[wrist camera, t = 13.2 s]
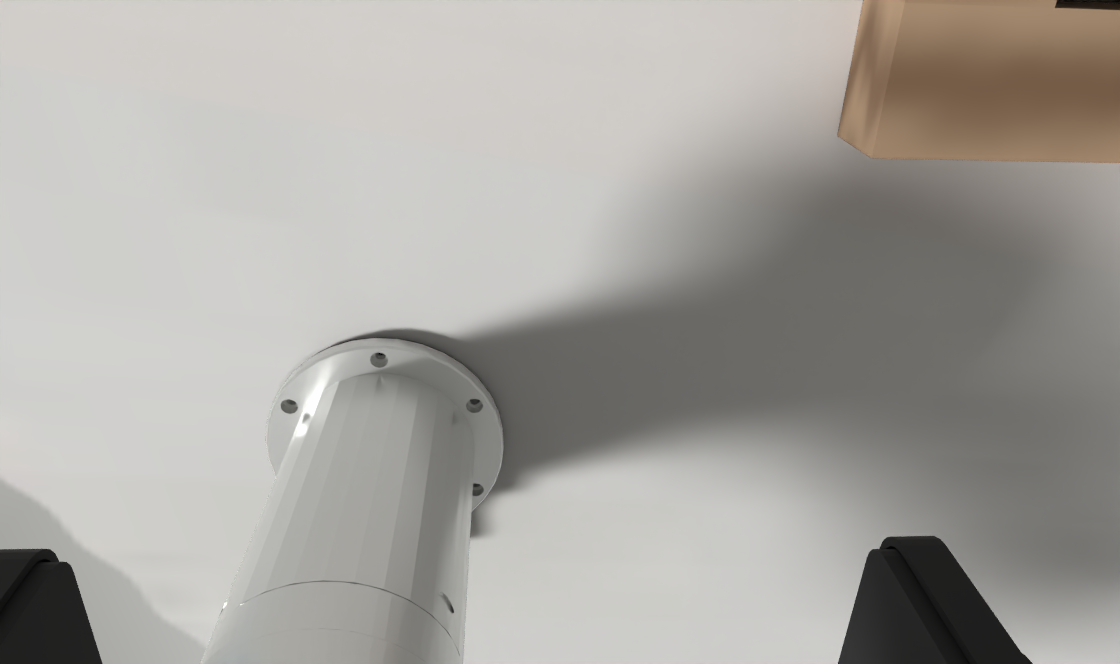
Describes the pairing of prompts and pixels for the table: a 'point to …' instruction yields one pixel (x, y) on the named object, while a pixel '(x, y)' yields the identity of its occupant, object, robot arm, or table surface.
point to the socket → (985, 81)
